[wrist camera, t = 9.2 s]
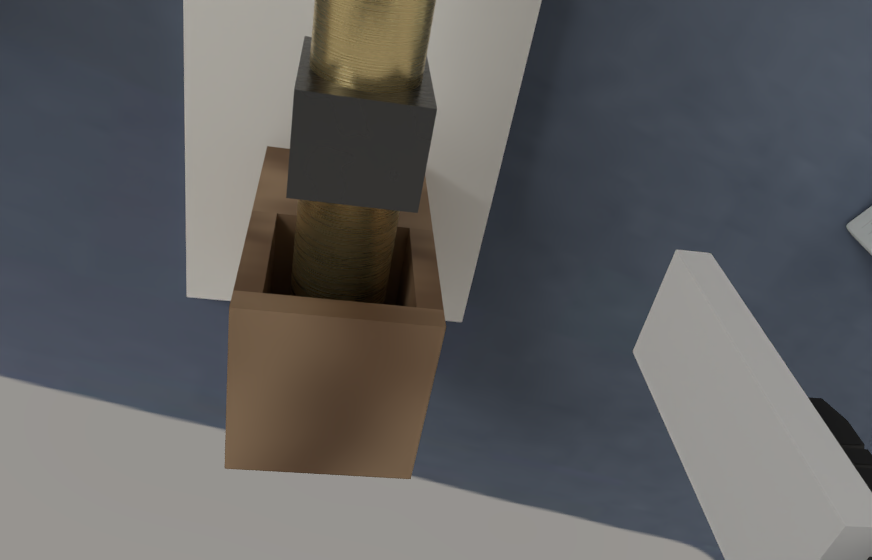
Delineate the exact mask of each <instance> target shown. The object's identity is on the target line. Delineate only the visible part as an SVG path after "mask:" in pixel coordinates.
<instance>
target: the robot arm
mask: <svg viewBox="0 0 872 560" xmlns="http://www.w3.org/2000/svg"><path fill="white" fill-rule="evenodd" d="M633 354H634V356H635V358H636V360H637V363H638V365H639V367H640V369H641V372H642V374H643V376H644V378H645V381H646V383H647V385H648V387H649V390H650V392H651V394H652V396H653V399H654V401H655V403H656V405H657V408H658V410H659V412H660V414H661V417H662V419H663V421H664V423H665V426H666V428H667V430H668V432H669V435H670V437H671V439H672V441H673V444H674V446H675V448H676V450H677V453H678V455H679V457H680V459H681V462H682V464H683V466H684V468H685V471H686V473H687V475H688V478H689V480H690V482H691V484H692V487H693V489H694V491H695V493H696V496H697V498H698V500H699V502H700V505H701V507H702V509H703V511H704V514H705V516H706V518H707V520H708V523H709V525H710V527H711V529H712V532H713V534H714V536H715V538H716V541H717V543H718V545H719V547H720V550H721V552H722V554H723V556H724V559H725V560H872V455H871V453H870V452H869V451H868V450H866V449H864V443H863V442H862V441H861V439H860V438H859V436H858V435H857V434H856V432H855V431H854V429H853V428H852V426H851V425H850V424H849V422H848V421H847V420H846V419H845V418H844V417H843V416H841V415H840V414H839V413H838V412H837V411H836V410H835V409H833V408H832V407H831V406H830V405H829V404H828V403H826V402H825V401H824V400H823V399H821V398H808V397H807V395H806V394H805V392H804V391H803V390H802V388H801V387H800V385H799V384H798V382H797V381H796V379H795V378H794V376H793V375H792V373H791V372H790V370H789V369H788V367H787V366H786V364H785V363H784V361H783V360H782V358H781V357H780V355H779V354H778V352H777V351H776V349H775V348H774V346H773V345H772V343H771V342H770V340H769V339H768V337H767V336H766V334H765V333H764V332H763V330H762V329H761V327H760V326H759V324H758V323H757V321H756V320H755V318H754V317H753V315H752V314H751V312H750V311H749V309H748V308H747V306H746V305H745V303H744V302H743V300H742V299H741V297H740V296H739V294H738V293H737V291H736V290H735V288H734V287H733V285H732V284H731V282H730V281H729V279H728V278H727V277H726V275H725V274H724V272H723V271H722V269H721V268H720V266H719V265H718V263H717V262H716V260H715V259H714V257H713V256H712V254H711V253H705V252H695V251H686V250H676V251H675V253H674V256H673V258H672V260H671V263H670V265H669V267H668V270H667V272H666V274H665V277H664V279H663V281H662V284H661V286H660V288H659V291H658V293H657V296H656V298H655V300H654V303H653V305H652V307H651V310H650V312H649V314H648V317H647V319H646V321H645V324H644V326H643V328H642V331H641V333H640V335H639V338H638V340H637V342H636V345H635V347H634V349H633Z"/></svg>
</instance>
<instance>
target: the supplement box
mask: <svg viewBox="0 0 872 560" xmlns="http://www.w3.org/2000/svg"><path fill="white" fill-rule="evenodd" d="M846 228H847V230H848V231H849V232H850V233H851V235H852V236H853V237H854V238H855V239H856V240H857V241H858V242H859V243H860V244H861V245H862V246H863V247H864V248H865V249H866V250H867V251H868V252H869V253H870V254H871V255H872V206H871V207H869V208H868V209H867V210H865V211H864V212H863V213H861V214H860V215H859V216H857V217H856V218H855V219H853V220H852V221H850V222H849V223H848V224H847V225H846Z"/></svg>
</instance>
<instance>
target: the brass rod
mask: <svg viewBox="0 0 872 560" xmlns="http://www.w3.org/2000/svg"><path fill="white" fill-rule="evenodd" d="M435 4H436V0H315V2H314V14H313V26H312V37H308V36H305V37H304V42H303V47H302V52H301V57H300V62H299V67H298V72H297V77H296V82H295V88H294V98H293V112H292V125H291V139H290V152H289V166H288V180H287V193H286V198H290V199H298V205H297V217H296V229H295V241H294V253H293V265H292V277H291V289H290V296H300V297H311V298H321V299H332V300H343V301H353V302H364V303H375V304H384V301H385V295H386V289H387V284H388V278H389V272H390V266H391V260H392V254H393V249H394V243H395V237H396V231H397V225H398V219H399V214H400V211H404V212H413V213H418V209H419V204H420V198H421V193H422V188H423V182H424V177H425V172H426V166H427V161H428V156H429V150H430V145H431V140H432V134H433V129H434V124H435V118H436V113H437V105H436V100H435V95H434V90H433V85H432V80H431V74H430V69H429V64H428V59H427V50H428V44H429V39H430V33H431V27H432V21H433V15H434V9H435Z"/></svg>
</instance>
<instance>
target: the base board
mask: <svg viewBox="0 0 872 560" xmlns="http://www.w3.org/2000/svg"><path fill="white" fill-rule="evenodd" d="M541 1H542V0H436V4H435V9H434V15H433V21H432V27H431V33H430V39H429V44H428V50H427V59H428V64H429V69H430V74H431V80H432V85H433V90H434V95H435V100H436V105H437V113H436V118H435V124H434V129H433V134H432V140H431V145H430V150H429V156H428V161H427V166H426V172H425V177H426V184H427V192H428V199H429V206H430V214H431V221H432V228H433V235H434V243H435V250H436V257H437V265H438V272H439V279H440V286H441V294H442V301H443V308H444V316H445V321H454V322H462V320H463V316H464V312H465V308H466V304H467V300H468V296H469V292H470V288H471V284H472V280H473V276H474V272H475V268H476V264H477V260H478V256H479V252H480V247H481V243H482V239H483V235H484V231H485V227H486V223H487V219H488V215H489V211H490V207H491V203H492V199H493V195H494V191H495V187H496V183H497V179H498V175H499V171H500V167H501V163H502V159H503V155H504V151H505V147H506V143H507V139H508V135H509V131H510V126H511V122H512V118H513V114H514V110H515V106H516V102H517V98H518V94H519V90H520V86H521V82H522V78H523V74H524V70H525V66H526V62H527V58H528V54H529V50H530V46H531V42H532V38H533V34H534V30H535V26H536V22H537V18H538V14H539V10H540V5H541ZM314 2H315V0H183V17H184V105H185V194H186V282H187V297H192V298H203V299H214V300H225V301H231V298H232V294H233V289H234V285H235V281H236V277H237V272H238V268H239V264H240V260H241V255H242V251H243V247H244V243H245V238H246V234H247V230H248V226H249V221H250V217H251V213H252V209H253V204H254V200H255V196H256V192H257V187H258V183H259V179H260V175H261V170H262V166H263V162H264V158H265V153H266V149H267V146H271V147H279V148H287V149H290V139H291V125H292V112H293V98H294V88H295V82H296V77H297V72H298V67H299V62H300V57H301V52H302V47H303V42H304V37H305V36H308V37H312V26H313V14H314Z"/></svg>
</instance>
